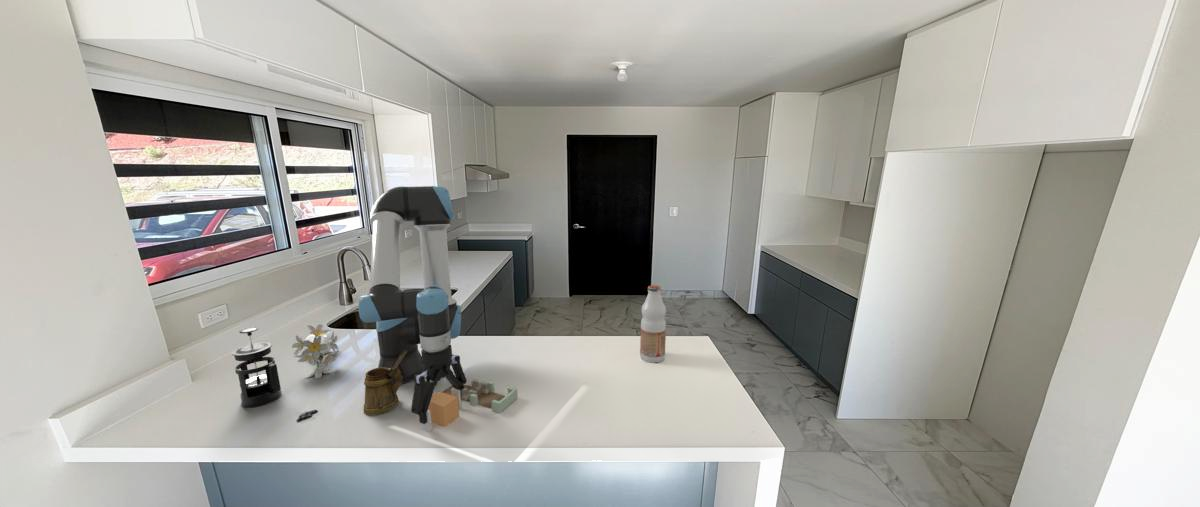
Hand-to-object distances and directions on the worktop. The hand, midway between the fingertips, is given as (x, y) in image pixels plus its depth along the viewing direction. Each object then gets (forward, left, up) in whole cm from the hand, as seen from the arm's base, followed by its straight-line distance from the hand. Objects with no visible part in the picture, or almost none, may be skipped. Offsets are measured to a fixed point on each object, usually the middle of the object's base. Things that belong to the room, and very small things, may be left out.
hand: (443, 420), depth 106 cm
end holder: (+7, +12, +1) cm, 15 cm away
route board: (+1, +12, 0) cm, 13 cm away
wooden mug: (-21, -1, 0) cm, 21 cm away
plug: (-4, 0, 0) cm, 4 cm away
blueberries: (-37, -14, -1) cm, 40 cm away
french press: (-60, -14, 0) cm, 61 cm away
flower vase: (-68, +7, 0) cm, 68 cm away
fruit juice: (+43, +61, 0) cm, 75 cm away
